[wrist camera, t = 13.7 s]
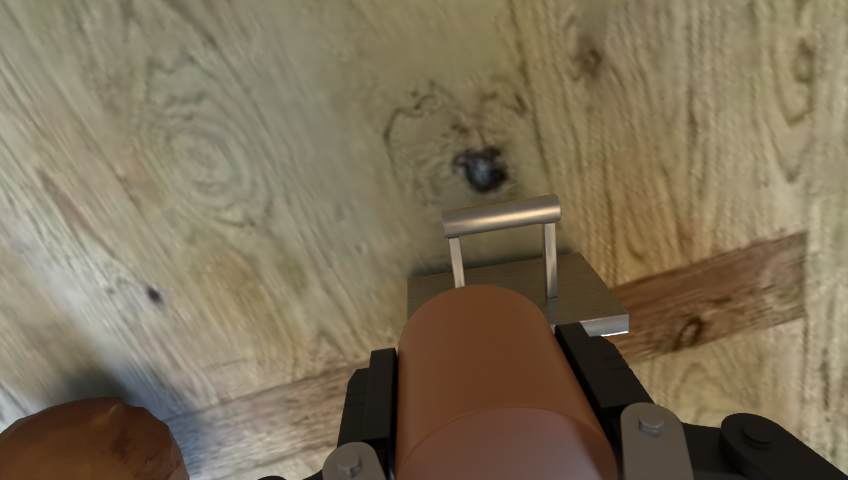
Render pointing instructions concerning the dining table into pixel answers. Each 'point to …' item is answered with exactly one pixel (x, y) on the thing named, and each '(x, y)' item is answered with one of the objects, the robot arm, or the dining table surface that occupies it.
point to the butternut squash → (90, 444)
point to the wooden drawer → (527, 268)
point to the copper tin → (491, 395)
